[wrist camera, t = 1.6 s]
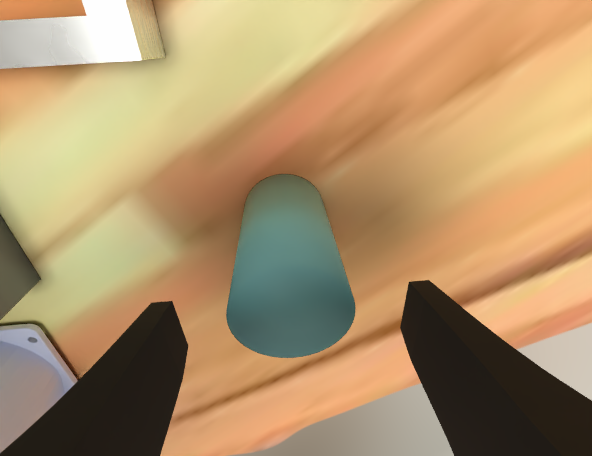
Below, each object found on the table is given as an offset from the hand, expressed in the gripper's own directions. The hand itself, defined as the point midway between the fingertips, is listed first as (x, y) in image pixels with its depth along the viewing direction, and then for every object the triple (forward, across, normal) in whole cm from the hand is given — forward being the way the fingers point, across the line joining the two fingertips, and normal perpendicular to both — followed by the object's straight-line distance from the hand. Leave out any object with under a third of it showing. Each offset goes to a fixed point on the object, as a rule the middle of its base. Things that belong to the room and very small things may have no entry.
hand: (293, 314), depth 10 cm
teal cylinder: (+7, 0, 0) cm, 7 cm away
